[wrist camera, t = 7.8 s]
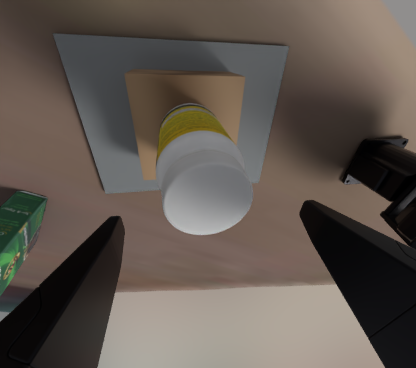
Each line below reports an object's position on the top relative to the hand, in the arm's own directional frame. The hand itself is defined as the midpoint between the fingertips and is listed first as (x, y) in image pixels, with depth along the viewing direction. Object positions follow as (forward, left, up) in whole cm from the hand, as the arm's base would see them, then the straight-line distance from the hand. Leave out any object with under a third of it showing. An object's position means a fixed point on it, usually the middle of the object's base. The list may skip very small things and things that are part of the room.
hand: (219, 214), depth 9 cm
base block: (+1, -1, -12) cm, 12 cm away
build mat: (+1, 0, -12) cm, 12 cm away
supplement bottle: (+1, -1, -8) cm, 8 cm away
